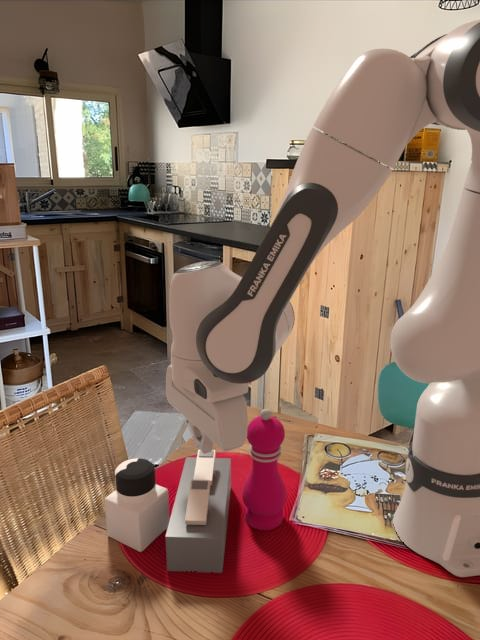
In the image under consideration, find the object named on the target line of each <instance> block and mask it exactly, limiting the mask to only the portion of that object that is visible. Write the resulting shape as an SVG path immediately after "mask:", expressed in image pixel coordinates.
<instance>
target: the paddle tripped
mask: <svg viewBox="0 0 480 640" xmlns="http://www.w3.org/2000/svg"><path fill="white" fill-rule="evenodd" d="M196 458H197V460H196V466H195V472H194V478H193V480H210V485H212V481H213V473H214V464H215V458H216V449H212V451H211V452H209V453H206V454H204V453H203V452H202V451H201V450H200V449H198V450H197V455H196Z"/></svg>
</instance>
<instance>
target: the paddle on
mask: <svg viewBox="0 0 480 640" xmlns="http://www.w3.org/2000/svg"><path fill="white" fill-rule="evenodd" d="M209 493H210V480H191V482H190V489H189V496H188V503H187V510H186V517H185V524H188V525H206V521H207V512H208V502H209Z"/></svg>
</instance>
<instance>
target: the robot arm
mask: <svg viewBox="0 0 480 640" xmlns="http://www.w3.org/2000/svg"><path fill="white" fill-rule="evenodd" d="M429 125H436V126H442V127H445V128H449V129H452V130H453V129H454V130H458V131H466V132H467V133H468V135H469V137H470V141H471V143H470V144H471V159H470V161H471V164H470V166H469V169H468V172H467V174H466V178H465V182H464V185H463V188H462V191H461V192H462V193H461V197H460V200H459V204H458V207H457V210H456V215H455V218H454V222H453V224H452V228H451V231H450V235H449V238H448V241H447V244H446V245H445V248H444V251H443V253H442V255H441V257H440V259H439V261H438V263H437V264H436V266H435V268H434V271H433V272H432V274H431V276H430V277H429V279H428V281H427V283H426V284H425V286H424V288H423V289H422V291H421V293H420V294H419V296H418V297H417V299H416V300H415V302H413V304H412V306H410V308H409V309H408V310H407V311H406V312H405V313H404V314H403V315H402V316H401V317H399V318H398V319H397V320H396V322H395V324H394V325H393V327H392V330H391V333H390V336H389V337H390V338H389V339H390V341H389V344H390V346H389V347H390V351H391V355H392V358H393V360H394V362H395V364H396V366H397V367H398V368H399V370H400V371H401V372H402V373H403V374H404V375H405V376H406V377H408V378H409V379H411V380H413V381H415V382H418V383H422V384H428V386H427V387H425V389H424V390H423V391H422V393H421V394H420V397H419V398H418V401H417V404H416V411H415V420H414V427H413V435H412V441H411V442H410V443H409V448H408V453H407V457H406V463H405V481H406V482H405V487H404V489H403V492H402V495H401V498H400V502H399V504H398V507H397V508H396V510H395V512H394V513H393V516H394V518H393V517H392V525H393V524H394V527H395V530H396V532H397V534H398V535H397V534H396V535H397V537H398V536H399V537H400V538H399V537H398V538H399V539H400V541H402V543H403V542H404V545H406V546H407V547H408V548H409V549H411V550H412V551H413V552H415V553H416V554H418V555H420V556H422V557H424V558H427V559H428V560H430V561H433V562H434V563H437V564H439V565H440V566H442V567H443V568H444V569H445V570H447V571H448V572H449V573H451V574H452V575H454V576H455V577H459V578H468V577H475V576H476V577H477V576H480V19H477V20H476V19H475V20H474V21H473V20H472V21H470V22H467V23H464V24H462V25H459V26H458V27H456V28H454V29H453V30H451V31H449V32H448V33H446V34H443V35H441V36H439V37H437V38H435V39H433V40H432V41H430V42H429V43H427V44H426V45H425V46H423V47H422V48H421V49H419V50H418V51H417V52H415V53H414V54H412V55H411V56H408V55H407V54H406V53H404V52H401V51H398V50H396V49H395V50H394V49H390V48H374V49H369V50H367V51H365V52H364V53H362V54H361V55H360V56H358V57H357V58H356V59H355V60H354V61H353V63H352V64H351V66H350V67H349V68H348V69H347V71H346V72H345V73H344V75H343V76H342V78H341V79H340V81H339V82H338V84H337V85H336V86H335V88H334V90H333V91H332V92H331V94H330V96H329V97H328V99H327V100H326V102H325V103H324V106H323V107H322V109H321V111H320V112H319V114H318V116H317V118H316V120H315V122H314V123H313V125H312V126H313V127H312V128H311V129H310V131H309V133H308V135H307V137H306V140H305V142H304V144H303V146H302V148H301V151H300V152H299V156H298V158H297V160H296V163H295V165H294V168H293V171H292V173H291V176H290V179H289V181H288V183H287V187H286V189H285V192H284V194H283V197H282V199H281V200H280V201H281V202H280V204H279V206H278V209H277V211H276V214H275V216H274V219H273V221H272V223H271V225H270V227H269V229H268V230H267V232H266V234H265V236H264V237H263V240H262V241H261V244H260V245H259V247H258V248H257V250H256V253H255V254H254V256H253V258H252V260H251V261H250V263H249V265H248V266H247V268H246V270H245V272H244V274H243V275H242V276H241V275H239V274H237V273H235V272H233V270H231V269H230V268H228V266H227V265H226V264H224V263H223V262H222V261H217V260H206V261H199V262H194V263H192V264H187V265H184V266H183V267H181V268H179V269H177V270H176V271H175V272H174V273H173V275H172V277H171V279H170V285H169V293H168V294H169V295H168V297H169V298H168V299H169V303H168V308H169V309H168V313H169V315H168V317H169V326H170V329H171V332H172V343H171V345H170V346H171V347H170V364H169V365H168V366H167V368H166V372H165V373H166V375H165V376H166V377H165V395H166V399H167V403H168V404H170V405H171V406H172V407H173V408H174V409H175V410H177V412H179V413H180V414H181V415H182V416H183V417H184V418H185V419H187V420H188V421H189V427H190V430H191V432H192V436H193V444H194V446H195V447H196V448H198V450H201V451H202V452H203V453H204V454H206V453H209V452H211V451H212V450H214V449H213V447H214V446H213V445H216V446H217V447H218V448H219V449H220V450H221V451H223V452H229V451H233V450H236V449H238V448H241V447H243V446H244V445H245V443H246V442H247V441H248V439H247V427H248V425H249V423H248V421H249V420H248V416H249V415H248V404H247V400H246V397H245V396H244V395H245V394H247V393H248V392H249V383H252V382H255V381H257V380H259V379H261V377H263V376H264V375H265V373H266V372H267V371H268V370H269V368H270V366H271V365H272V362H273V360H274V357H275V356H276V355H277V353H279V350H280V349H281V348H282V346H283V345H284V344H285V342H286V341H287V339H288V337H289V336H290V334H291V332H292V330H293V328H294V326H295V312H294V307H293V305H292V303H291V300H292V297H293V296H294V294H295V292H296V290H297V289H298V287H299V286H300V284H301V282H302V280H303V279H304V277H305V275H306V274H307V272H308V270H309V268H310V267H311V265H312V263H313V262H314V261H315V259H316V258H317V257H318V256H319V255H320V253H322V252H321V251H323V250H324V249H325V247H327V245H328V244H329V243H330V242H331V241H332V240H333V239H334V238H335V237H337V235H339V234H341V232H342V231H344V230H345V229H346V228H347V227H348V226H349V225H351V224H352V223H353V222H354V221H355V220H356V219H357V218H358V217H359V216H360V215H361V214H362V212H363V211H364V210H365V209H366V208H367V207H368V206H369V205H370V204H371V203H372V201H373V200H374V199H375V197H376V196H377V195H378V193H379V192H380V190H381V189H382V188H383V186H384V185H385V183H386V181H387V180H388V178H389V177H390V175H391V174H392V172H393V170H392V169H394V168H395V167H396V165H397V163H398V162H399V160H400V158H401V156H402V154H403V152H404V150H405V148H406V146H407V145H408V144H409V143H410V142H411V141H412V140H413V138H414V137H416V135H417V134H418V133H419V132H421V131H422V130H423V129H424V128H426V127H427V126H429ZM319 130H320V131H319ZM389 167H390V168H389ZM394 527H393V528H394ZM395 530H394V531H395ZM396 532H395V533H396Z"/></svg>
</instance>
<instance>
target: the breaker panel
mask: <svg viewBox="0 0 480 640" xmlns="http://www.w3.org/2000/svg"><path fill="white" fill-rule="evenodd" d="M196 460H197V457H191V456H190V457H189V456H187V457H185V460H184V464H183V469H182V471H181V475H180V476H181V477H180V479H179V483H178V488H177V491H176V495H175V498H174V503H173V507H172V510H171V514H170V516H169V525H168V528H166V533H165V536H164V537H165V551H166V552H165V553H166V569H167V572H182V571H183V572H186V571H188V572H187V573H191V572H190V571H192V573H195V572H194V571H197V572H196V573H211V572H213V574H215V573H216V574H223V573H222V572H223V571H224V569H223V568H224V562H225V561H224V560H225V550H226V541H227V530H228V520H229V511H230V499H231V490H232V465H231V464H232V463H231V462H232V459H231V458H229V457H228V458H225V457H223V458H222V457H219V458H218V457H215V464H214V473H213V481H212V485H210V493H209V502H208V512H207V521H206V525H188V524H185V517H186V510H187V503H188V496H189V489H190V482H191V480H193V478H194V472H195V466H196Z"/></svg>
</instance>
